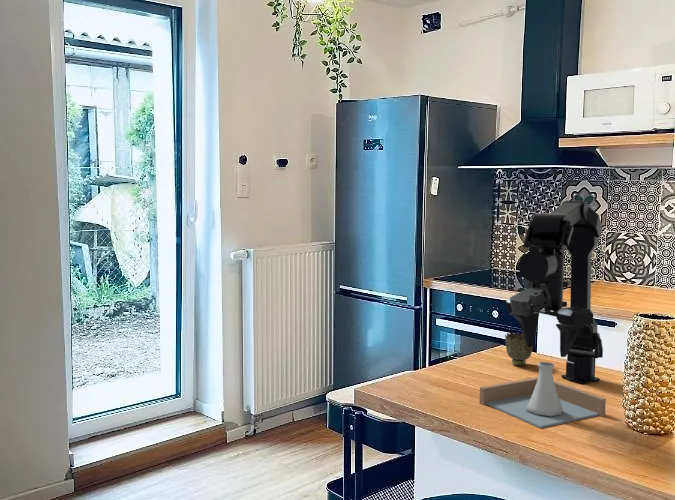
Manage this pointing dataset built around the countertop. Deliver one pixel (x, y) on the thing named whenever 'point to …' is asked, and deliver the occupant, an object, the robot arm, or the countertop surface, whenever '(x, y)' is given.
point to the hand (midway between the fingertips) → (546, 351)
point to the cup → (517, 348)
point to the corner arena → (519, 393)
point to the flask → (545, 393)
